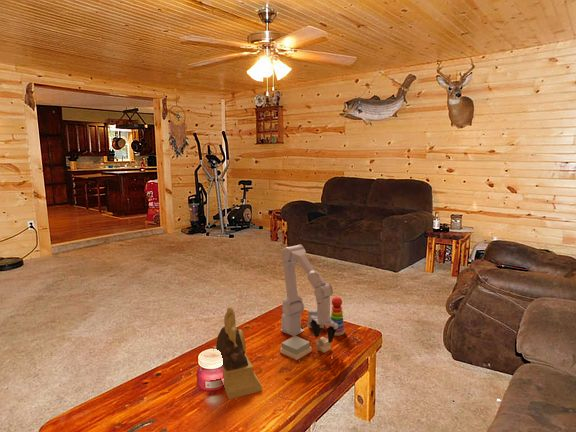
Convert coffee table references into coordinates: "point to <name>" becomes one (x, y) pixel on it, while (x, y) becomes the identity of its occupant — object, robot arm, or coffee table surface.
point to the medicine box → (314, 312)
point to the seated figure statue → (235, 360)
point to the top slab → (295, 345)
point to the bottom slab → (295, 354)
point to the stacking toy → (337, 315)
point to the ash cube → (323, 344)
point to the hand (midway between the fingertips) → (323, 339)
